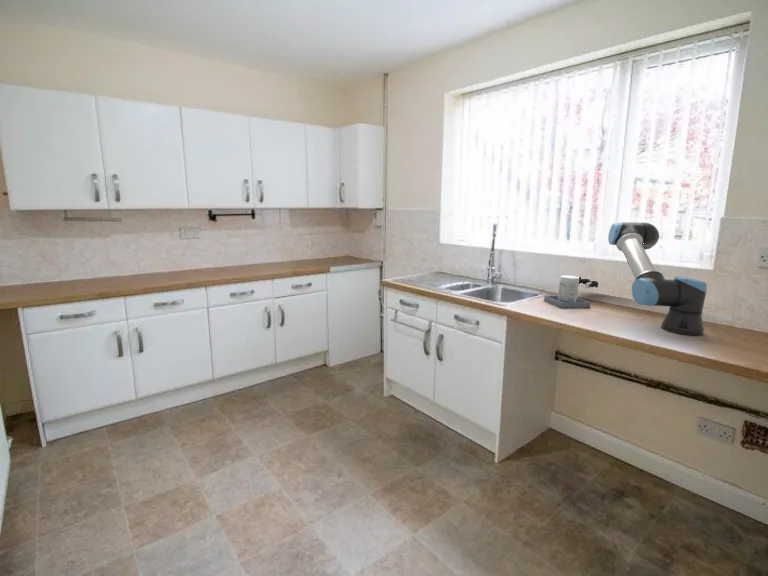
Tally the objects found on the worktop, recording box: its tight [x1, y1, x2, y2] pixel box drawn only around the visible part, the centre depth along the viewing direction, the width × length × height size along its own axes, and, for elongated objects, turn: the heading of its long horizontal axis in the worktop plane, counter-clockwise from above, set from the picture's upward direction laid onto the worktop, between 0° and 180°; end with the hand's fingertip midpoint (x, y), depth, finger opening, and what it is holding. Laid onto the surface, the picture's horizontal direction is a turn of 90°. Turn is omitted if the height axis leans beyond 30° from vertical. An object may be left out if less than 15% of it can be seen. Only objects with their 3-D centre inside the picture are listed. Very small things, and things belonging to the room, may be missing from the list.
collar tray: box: [543, 295, 591, 309], centre depth 223 cm, size 17×17×3 cm
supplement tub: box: [557, 274, 580, 303], centre depth 222 cm, size 10×10×15 cm
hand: (573, 284), depth 227 cm, fingers open, 13 cm apart
